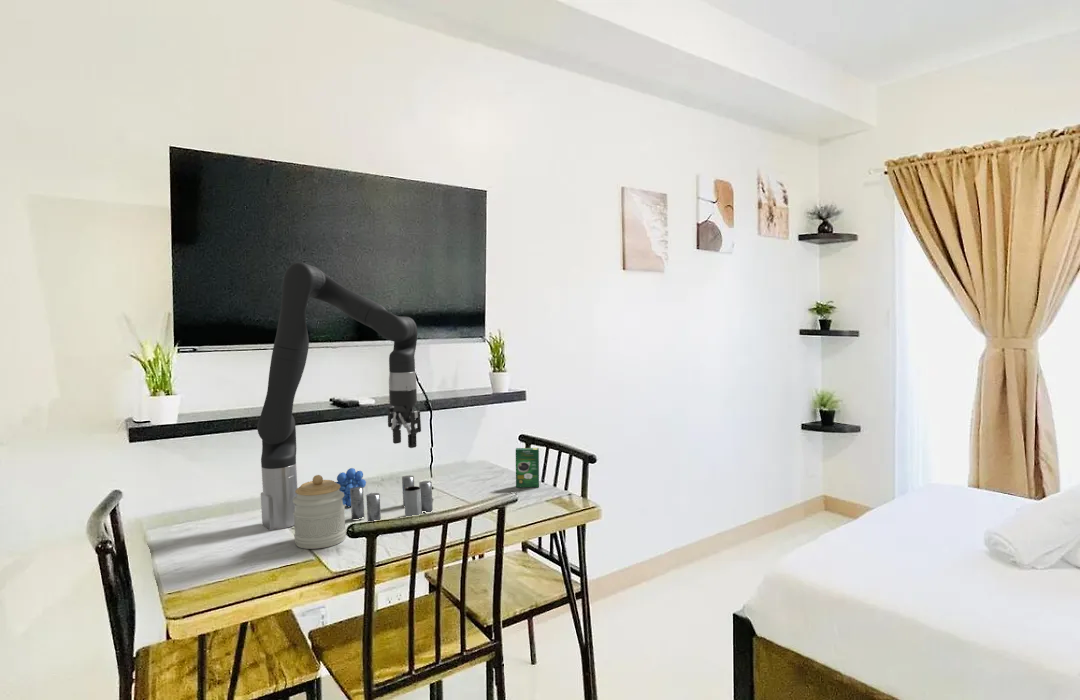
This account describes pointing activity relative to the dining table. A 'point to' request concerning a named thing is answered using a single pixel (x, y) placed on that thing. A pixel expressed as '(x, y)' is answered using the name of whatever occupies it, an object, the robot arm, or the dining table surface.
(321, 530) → the jar
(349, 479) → the grapes
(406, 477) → the spacer posts
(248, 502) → the dining table surface
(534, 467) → the coffee box
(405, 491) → the hollow grey tube
